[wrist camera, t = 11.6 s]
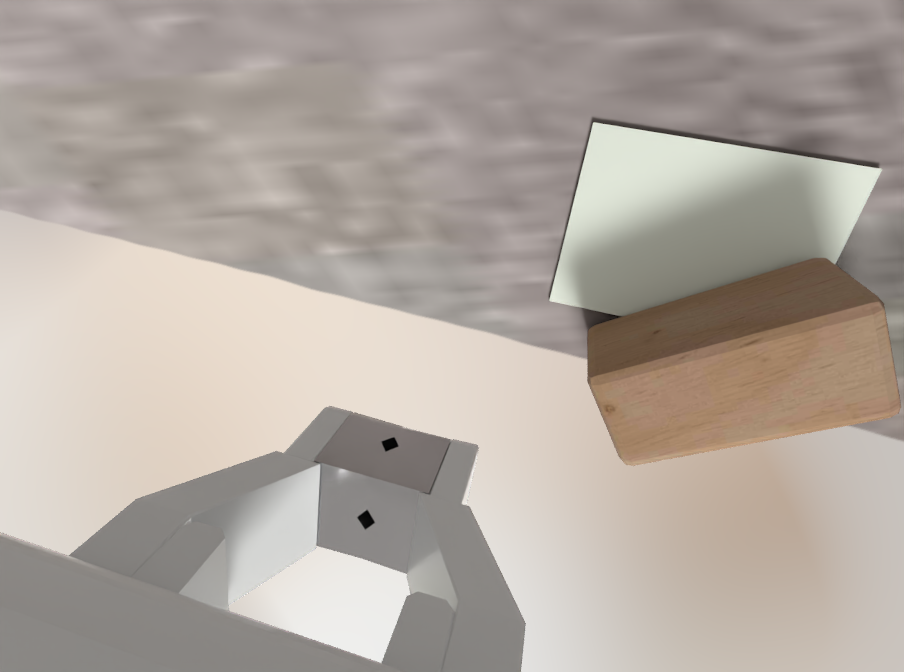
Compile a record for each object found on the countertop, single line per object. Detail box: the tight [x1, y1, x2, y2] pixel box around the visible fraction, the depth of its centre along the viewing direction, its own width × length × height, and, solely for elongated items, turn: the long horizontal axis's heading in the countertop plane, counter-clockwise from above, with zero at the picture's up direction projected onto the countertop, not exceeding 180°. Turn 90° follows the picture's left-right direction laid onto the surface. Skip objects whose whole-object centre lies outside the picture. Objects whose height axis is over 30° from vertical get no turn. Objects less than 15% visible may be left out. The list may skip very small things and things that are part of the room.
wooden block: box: [587, 258, 901, 466], centre depth 41 cm, size 10×10×20 cm
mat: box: [549, 122, 882, 317], centre depth 43 cm, size 22×16×1 cm
